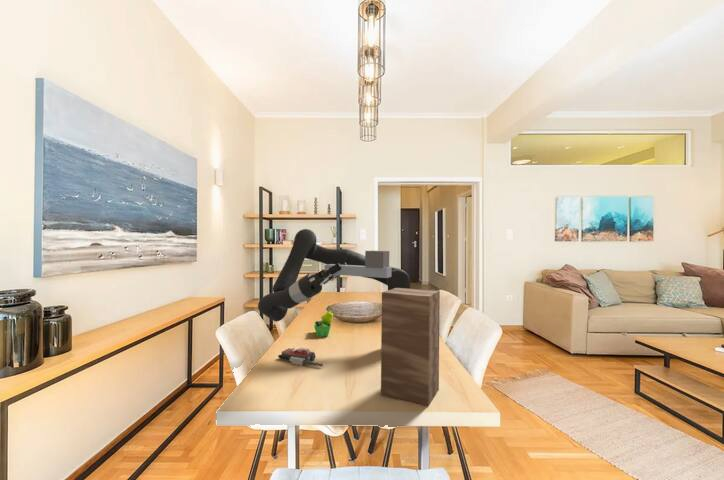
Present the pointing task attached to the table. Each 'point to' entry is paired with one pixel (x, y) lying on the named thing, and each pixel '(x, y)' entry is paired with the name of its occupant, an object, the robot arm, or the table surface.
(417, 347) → the walnut stand
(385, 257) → the gray l-shaped block
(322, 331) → the green potted plant
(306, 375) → the table surface
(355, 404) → the table surface
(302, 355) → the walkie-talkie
